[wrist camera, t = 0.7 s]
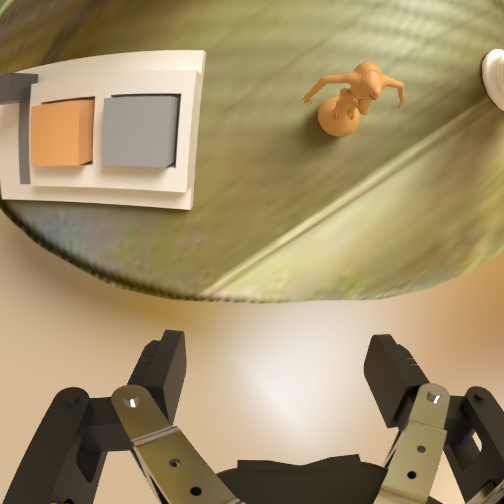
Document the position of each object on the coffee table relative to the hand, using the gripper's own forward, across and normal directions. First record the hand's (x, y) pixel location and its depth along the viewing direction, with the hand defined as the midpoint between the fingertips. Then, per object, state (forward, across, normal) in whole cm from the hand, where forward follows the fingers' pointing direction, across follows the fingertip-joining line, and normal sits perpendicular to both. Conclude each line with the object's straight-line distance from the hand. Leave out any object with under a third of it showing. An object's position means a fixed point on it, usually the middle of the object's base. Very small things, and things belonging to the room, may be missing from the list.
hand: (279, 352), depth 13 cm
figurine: (+21, -6, -13) cm, 25 cm away
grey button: (+18, +11, -10) cm, 23 cm away
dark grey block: (+18, +27, -17) cm, 37 cm away
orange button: (+18, +20, -10) cm, 29 cm away
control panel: (+21, +20, -11) cm, 31 cm away
